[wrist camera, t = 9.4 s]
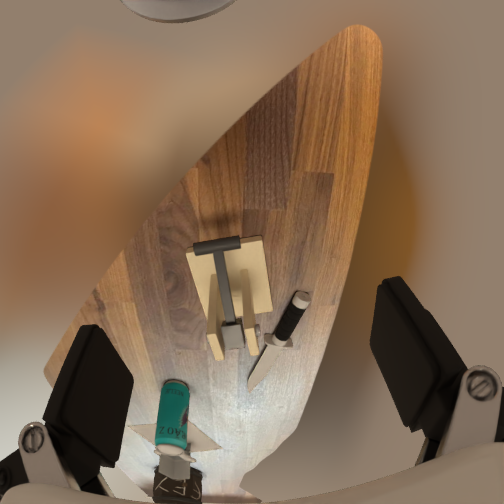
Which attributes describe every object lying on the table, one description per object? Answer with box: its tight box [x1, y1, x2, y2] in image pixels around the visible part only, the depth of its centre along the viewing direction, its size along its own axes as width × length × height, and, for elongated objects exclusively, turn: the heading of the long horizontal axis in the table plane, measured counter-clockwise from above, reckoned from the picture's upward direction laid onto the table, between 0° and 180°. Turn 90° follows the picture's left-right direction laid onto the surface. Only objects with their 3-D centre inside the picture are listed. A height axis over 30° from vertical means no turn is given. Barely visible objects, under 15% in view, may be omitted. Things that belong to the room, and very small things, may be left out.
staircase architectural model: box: [128, 420, 223, 479], centre depth 63 cm, size 19×21×12 cm
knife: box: [248, 291, 311, 393], centre depth 49 cm, size 26×2×5 cm
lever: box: [193, 235, 245, 350], centre depth 33 cm, size 12×5×2 cm, turn 9°
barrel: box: [152, 466, 202, 504], centre depth 77 cm, size 18×18×16 cm
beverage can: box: [154, 380, 190, 456], centre depth 48 cm, size 6×6×15 cm
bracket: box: [186, 235, 273, 361], centre depth 37 cm, size 12×10×13 cm
